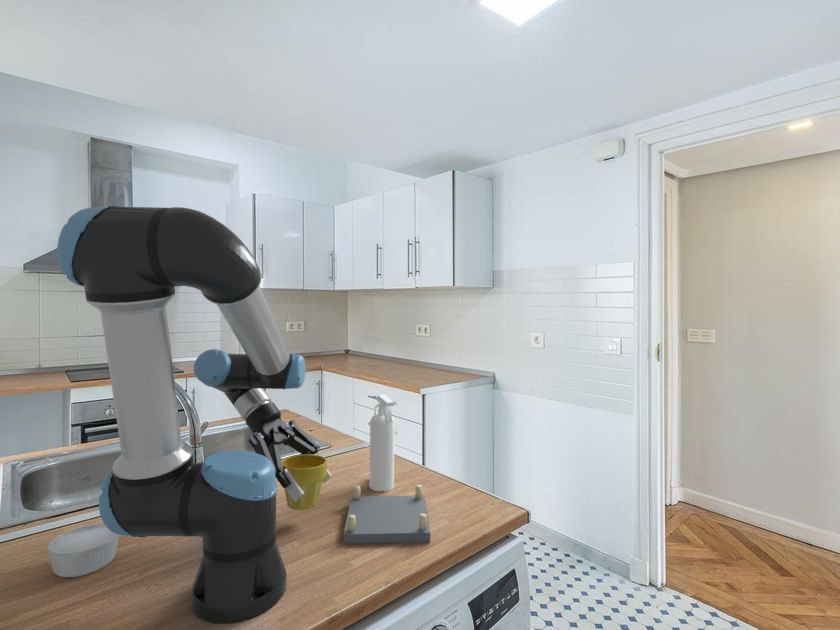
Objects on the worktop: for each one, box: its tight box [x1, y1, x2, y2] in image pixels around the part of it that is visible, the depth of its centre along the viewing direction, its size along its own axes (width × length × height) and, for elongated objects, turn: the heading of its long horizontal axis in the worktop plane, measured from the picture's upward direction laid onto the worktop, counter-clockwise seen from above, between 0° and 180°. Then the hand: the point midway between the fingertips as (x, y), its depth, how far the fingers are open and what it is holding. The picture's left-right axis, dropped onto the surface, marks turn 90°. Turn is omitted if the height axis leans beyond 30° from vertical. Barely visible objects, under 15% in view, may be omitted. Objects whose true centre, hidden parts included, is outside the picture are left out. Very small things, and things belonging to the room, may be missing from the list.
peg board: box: [343, 484, 431, 545], centre depth 104 cm, size 18×18×5 cm
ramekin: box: [46, 522, 121, 578], centre depth 87 cm, size 11×11×5 cm
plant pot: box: [281, 453, 328, 511], centre depth 103 cm, size 10×10×10 cm
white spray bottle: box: [369, 393, 396, 493], centre depth 123 cm, size 7×12×25 cm, turn 25°
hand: (314, 488), depth 102 cm, fingers closed on plant pot, 10 cm apart
